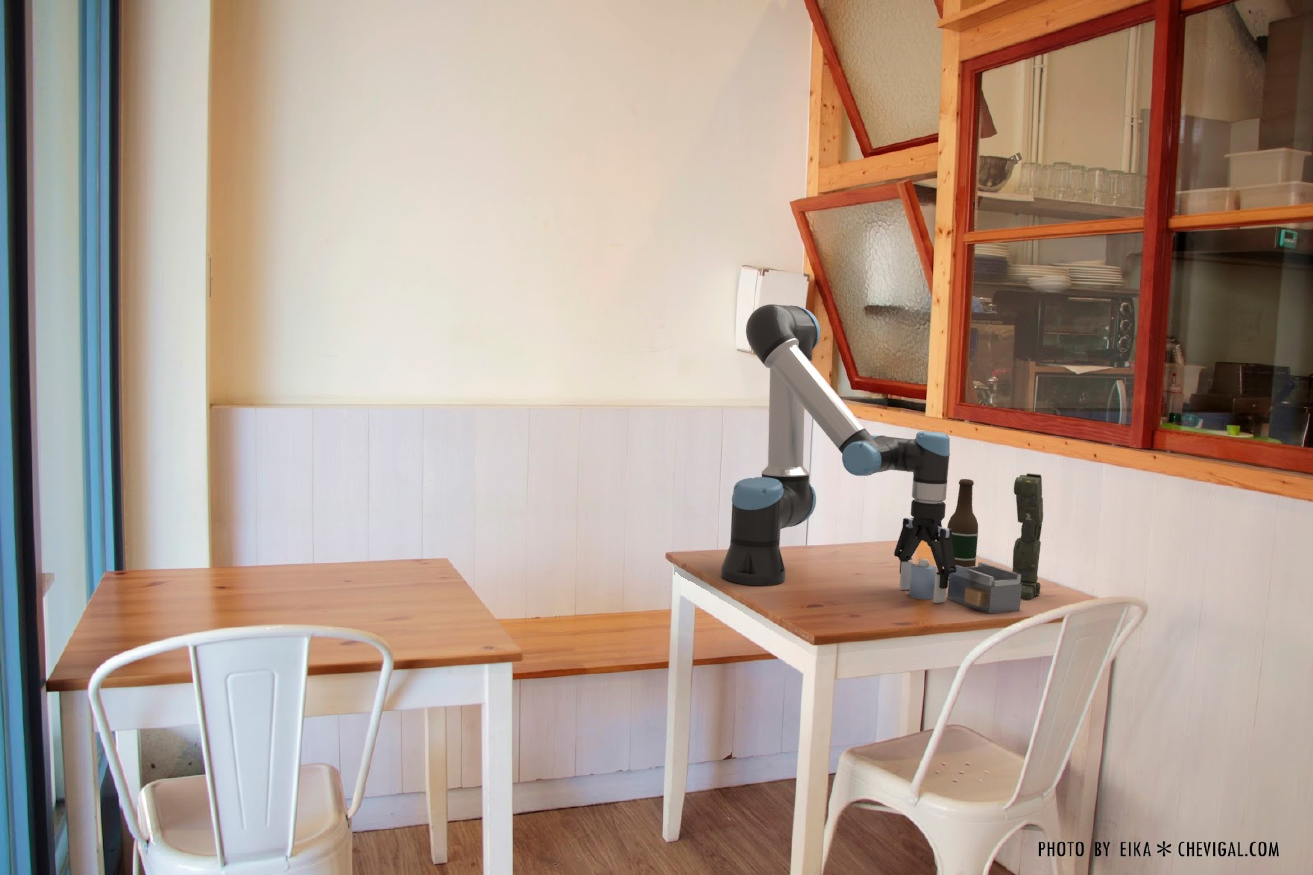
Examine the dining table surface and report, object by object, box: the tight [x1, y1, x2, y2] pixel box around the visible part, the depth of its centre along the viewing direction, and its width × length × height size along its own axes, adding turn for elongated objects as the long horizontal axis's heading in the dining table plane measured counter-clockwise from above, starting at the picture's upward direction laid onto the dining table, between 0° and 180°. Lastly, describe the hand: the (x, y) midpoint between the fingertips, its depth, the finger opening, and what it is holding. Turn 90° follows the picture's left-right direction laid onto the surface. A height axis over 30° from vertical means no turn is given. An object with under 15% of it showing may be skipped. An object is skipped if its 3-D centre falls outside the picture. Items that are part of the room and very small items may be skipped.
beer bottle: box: [946, 478, 979, 568], centre depth 262 cm, size 8×8×24 cm
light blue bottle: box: [908, 558, 937, 601], centre depth 240 cm, size 6×6×8 cm
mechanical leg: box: [1012, 472, 1044, 601], centre depth 245 cm, size 14×7×30 cm, turn 149°
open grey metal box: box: [946, 561, 1022, 615], centre depth 236 cm, size 15×11×8 cm
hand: (921, 595), depth 241 cm, fingers open, 11 cm apart
